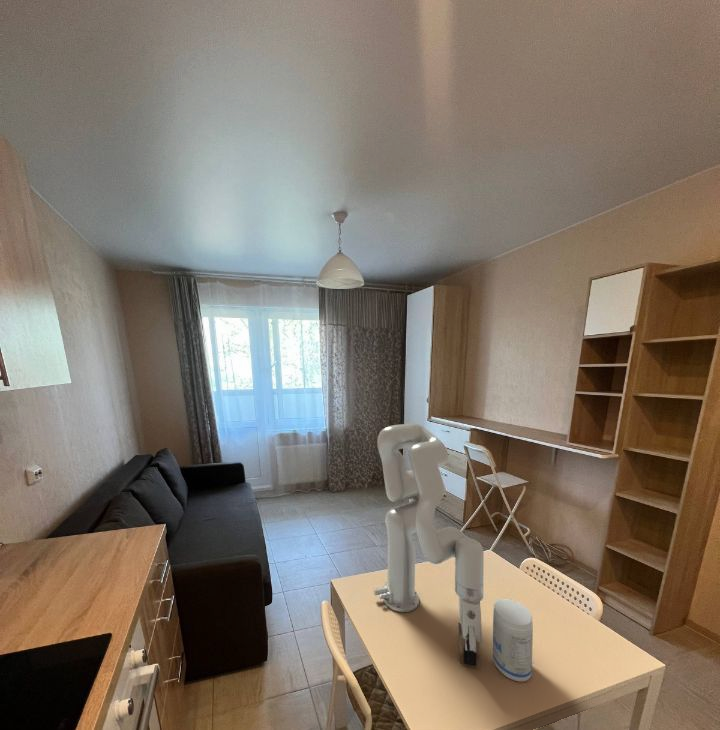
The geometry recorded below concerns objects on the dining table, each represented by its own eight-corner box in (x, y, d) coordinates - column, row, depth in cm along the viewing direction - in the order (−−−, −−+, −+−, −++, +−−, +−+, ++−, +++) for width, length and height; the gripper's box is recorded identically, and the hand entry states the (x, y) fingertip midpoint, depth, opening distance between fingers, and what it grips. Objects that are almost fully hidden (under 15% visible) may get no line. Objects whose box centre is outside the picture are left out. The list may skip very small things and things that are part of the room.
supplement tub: (486, 651, 86) (486, 598, 87) (517, 649, 87) (517, 596, 88) (505, 686, 77) (506, 625, 77) (541, 683, 78) (540, 623, 78)
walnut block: (479, 668, 82) (479, 641, 82) (459, 663, 83) (460, 637, 83) (476, 651, 86) (476, 626, 87) (458, 648, 88) (458, 622, 88)
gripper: (489, 612, 76) (488, 688, 75) (478, 570, 93) (478, 632, 92) (457, 607, 78) (457, 681, 77) (452, 566, 94) (452, 627, 94)
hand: (468, 653), depth 85 cm, fingers open, 5 cm apart
